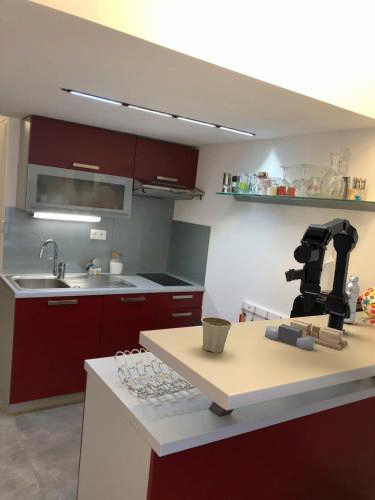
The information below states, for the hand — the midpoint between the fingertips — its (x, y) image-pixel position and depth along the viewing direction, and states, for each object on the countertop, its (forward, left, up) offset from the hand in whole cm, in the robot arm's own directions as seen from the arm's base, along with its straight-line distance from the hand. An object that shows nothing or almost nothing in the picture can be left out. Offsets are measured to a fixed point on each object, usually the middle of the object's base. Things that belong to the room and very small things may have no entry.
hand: (305, 310), depth 134 cm
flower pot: (+27, -17, -13) cm, 34 cm away
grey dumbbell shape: (-1, -4, -13) cm, 13 cm away
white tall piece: (-49, +3, -13) cm, 51 cm away
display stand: (-13, +1, -13) cm, 18 cm away
